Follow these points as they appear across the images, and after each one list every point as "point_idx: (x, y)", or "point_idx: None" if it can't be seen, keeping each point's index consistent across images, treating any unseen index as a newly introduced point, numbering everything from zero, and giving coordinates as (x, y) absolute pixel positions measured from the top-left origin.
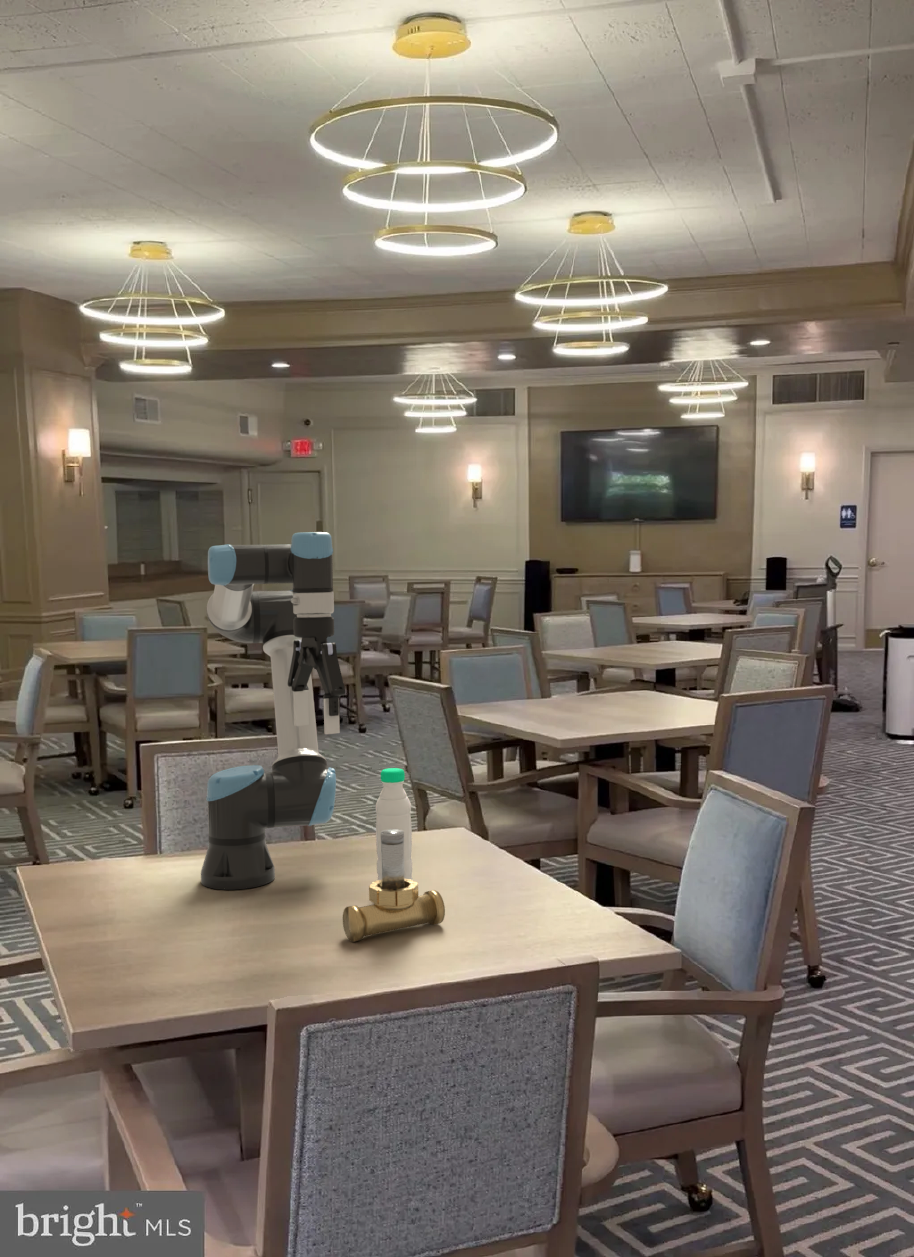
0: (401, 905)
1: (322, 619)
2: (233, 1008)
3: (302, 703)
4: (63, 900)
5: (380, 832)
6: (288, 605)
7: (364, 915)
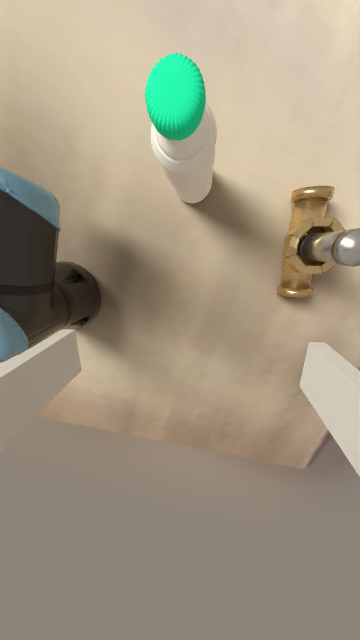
0: None
1: None
2: None
3: (19, 393)
4: (67, 409)
5: (192, 184)
6: None
7: (309, 286)
